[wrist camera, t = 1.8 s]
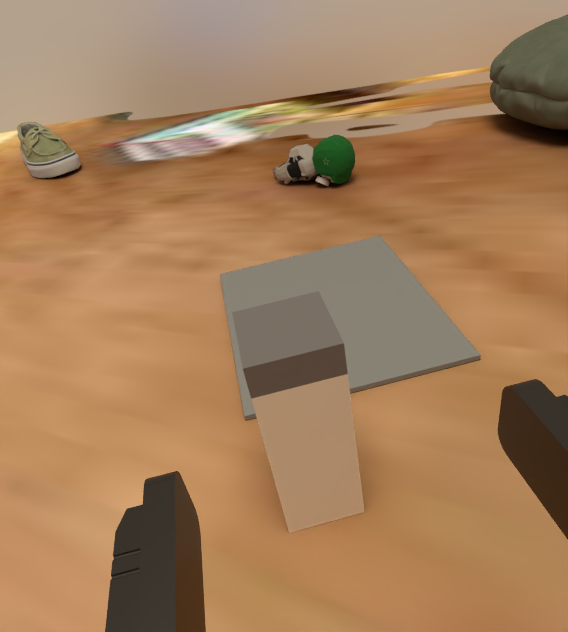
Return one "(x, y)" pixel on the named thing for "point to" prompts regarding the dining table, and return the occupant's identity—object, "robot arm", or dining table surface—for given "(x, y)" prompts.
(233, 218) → the dining table surface
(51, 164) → the boat shoe
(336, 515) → the cream block
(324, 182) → the toy
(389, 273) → the slate mat
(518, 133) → the dining table surface
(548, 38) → the pillow
